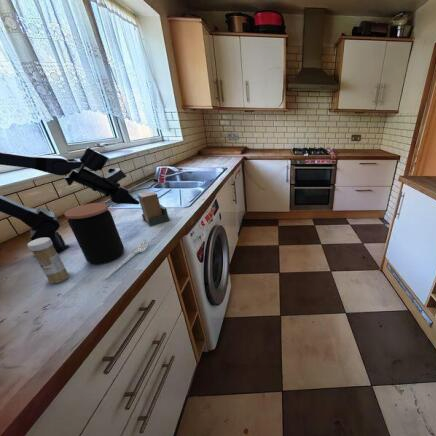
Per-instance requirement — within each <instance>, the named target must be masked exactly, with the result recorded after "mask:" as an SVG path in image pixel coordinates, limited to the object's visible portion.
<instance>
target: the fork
mask: <svg viewBox="0 0 436 436" xmlns="http://www.w3.org/2000/svg"><path fill="white" fill-rule="evenodd" d="M149 244H150V239H143V240H142V242H140V244H139V245H138V247H137V248H136V249H134V250H133V251H132V252H131V253H130V254H129V255H128V256H127V257H125V259H124V260H122V261H121V262H119V264H118V265H117V266H115V267H114V268H113V269H112V270H111V271H110V272H109V273H107V274H106V275H105V276H104V279H108V278H110V277H111V276H112V275H114V273H116V272H117V271H118V270H119V269H120V268H121V267H122V266H124V265H125V264H126V263H127V262H128V261H130V260H131V258H133V257H134V256H135V255H137V254H138V253H143V252H145V251H146V250H147V248H148V246H149Z"/></svg>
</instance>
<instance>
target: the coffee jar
mask: <svg viewBox="0 0 436 436" xmlns="http://www.w3.org/2000/svg"><path fill="white" fill-rule="evenodd" d="M63 214H64V217H65V218H67V224H68V225H69V227H70V229H71V231H72V233H73V235H74V237H75V239H76V241H77V244H78V245H79V248H80V251H81V253H82V254H83V256H84V258H85V260H86V262H87V263H90V264H92V265H104V264H107V263H108V264H109V263H110V262H113V261H115V260H117V259H119V258H120V257H121V256H122V255H123V254H124V252H125V247H124V244H123V241H122V238H121V235H120V233H119V230H118V227H117V225H116V222H115V220H114V218H113V215H112V212H111V210H109V205H108V204H107V203H104V202H92V203H86V204H82V205H78V206H74V207H72V208H70V209H68V210H66V211H65V212H64V213H63Z"/></svg>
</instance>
